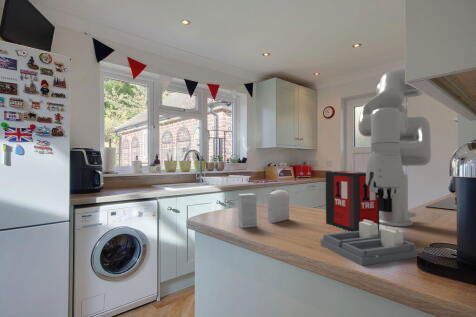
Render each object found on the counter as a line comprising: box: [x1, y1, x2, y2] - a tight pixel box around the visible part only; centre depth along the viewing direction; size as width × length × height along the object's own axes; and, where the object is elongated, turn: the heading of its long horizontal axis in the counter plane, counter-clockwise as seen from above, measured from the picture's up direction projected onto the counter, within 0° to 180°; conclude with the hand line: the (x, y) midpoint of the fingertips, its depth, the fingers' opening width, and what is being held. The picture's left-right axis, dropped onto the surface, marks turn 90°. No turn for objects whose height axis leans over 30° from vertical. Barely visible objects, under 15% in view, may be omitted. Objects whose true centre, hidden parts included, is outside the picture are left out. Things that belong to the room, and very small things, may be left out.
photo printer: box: [267, 189, 290, 224], centre depth 107 cm, size 10×4×12 cm, turn 133°
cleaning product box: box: [325, 170, 380, 233], centre depth 96 cm, size 16×9×20 cm, turn 20°
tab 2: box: [380, 225, 404, 247], centre depth 69 cm, size 3×4×5 cm
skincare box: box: [237, 192, 258, 229], centre depth 98 cm, size 6×4×12 cm
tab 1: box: [359, 219, 378, 238], centre depth 77 cm, size 3×4×5 cm
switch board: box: [320, 231, 420, 266], centre depth 72 cm, size 18×16×3 cm
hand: (385, 211), depth 78 cm, fingers closed
